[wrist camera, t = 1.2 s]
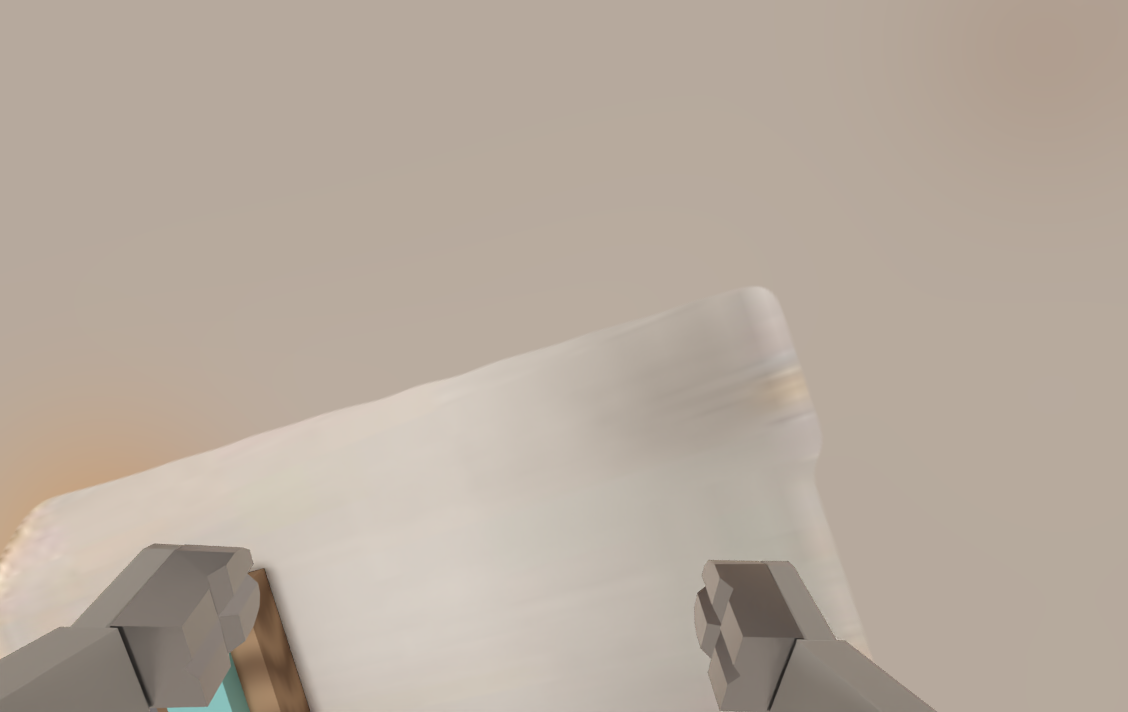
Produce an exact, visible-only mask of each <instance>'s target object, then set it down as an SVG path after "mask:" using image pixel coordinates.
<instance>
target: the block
mask: <svg viewBox="0 0 1128 712" xmlns="http://www.w3.org/2000/svg"><path fill="white" fill-rule="evenodd" d="M229 658H230V664H231V667H230V669H229V671H228V672H227V674H226V676H225V678H224V679H223V681H222V683H221V685H220V686H219V688H218V690H217V692H216V693H215V695H214V697H213V699H212V700H211V702H210V704H209V705H208V707H180V708H167V710H168V712H250V710H249V707H248V704H247V701H246V698H245V695H244V692H243V689H242V686H241V683H240V680H239V677H238V674H237V671H236V668H235V665H234V662H233V659H232V656H231V653H229Z"/></svg>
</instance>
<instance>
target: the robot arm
mask: <svg viewBox="0 0 1128 712" xmlns="http://www.w3.org/2000/svg"><path fill="white" fill-rule="evenodd" d="M253 564H254V563H253V560H252V556H251V553H250V550H249V549H246V548H240V547H221V546H203V545H173V544H152V545H150V546H148V547H146V548H144V549H143V550H142V551H141V552H140V553H139V554H138V555H137V556H136V557H135V558H134V559H133V560H132V561H131V562H130V564H129V565H128V566H127V567H126V568H125V569H124V570H123V571H122V572H121V573H120V574H119V575H118V576H117V577H116V579H115V580H114V581H113V582H112V583H111V584H110V585H109V586H108V587H107V588H106V589H105V590H104V591H103V592H102V593H101V595H100V596H99V597H98V598H97V599H96V600H95V601H94V602H93V603H92V604H91V605H90V606H89V607H88V608H87V609H86V611H85V612H84V613H83V614H82V615H81V616H80V617H79V618H78V619H77V620H76V621H75V622H74V623H73V624H72V625H71V627H59V628H57V629H55V630H53V631H51V632H50V633H48V634H46V635H44V636H42V637H40V638H39V639H37V640H35V641H33V642H31V643H29V644H28V645H26V646H24V647H22V648H20V649H19V650H17V651H15V652H13V653H11V654H9V655H8V656H6V657H4V658H2V659H0V712H150V708H180V707H208V705H209V704H210V702H211V700H212V699H213V697H214V695H215V693H216V692H217V690H218V688H219V686H220V685H221V683H222V681H223V679H224V678H225V676H226V674H227V672H228V671H229V669H230V667H231V664H230V658H229V653H230V652H231V651H232V650H234V649H235V648H237V647H238V646H239V645H241V644H242V643H243V642H245V641H246V639H247V637H248V635H249V633H250V632H251V630H252V628H253V626H254V624H255V620H256V617H257V614H258V610H259V607H260V590H259V586H258V582H256V581H255V580H254V579H253V578H252V577H251V576H250V575H248V572H249V570H250V569H251V567H252V566H253ZM702 578H703V581H704V583H705V587H704V588H703V589H702V590H700V591H699V592H698V593H697V597H696V602H695V606H694V617H695V628H696V634H697V638H698V641H699V645H700V648H701V649H702V650H703V651H704V652H705V653H706V654H707V655H708V656H709V657H710V658H711V663H710V666H709V670H708V675H709V678H710V681H711V684H712V688H713V691H714V694H715V697H716V700H717V704H718V707H719V710H720V711H738V712H936V711H935V710H934V709H933V708H931V707H930V706H929V705H928V704H926V703H925V702H924V701H922V700H921V699H920V698H919V697H917V696H916V695H915V694H913V693H912V692H911V691H910V690H908V689H907V688H906V687H904V686H903V685H902V684H900V683H899V682H898V681H897V680H895V679H894V678H893V677H891V676H890V675H889V674H888V673H886V672H885V671H884V670H882V669H881V668H880V667H879V666H877V665H876V664H875V663H873V662H872V661H871V660H869V659H868V658H867V657H866V656H864V655H863V654H862V653H860V652H859V651H858V650H857V649H855V648H854V647H853V646H851V645H850V644H849V643H848V642H846V641H843V640H836V638H835V636H834V635H833V633H832V631H831V630H830V628H829V626H828V624H827V623H826V621H825V619H824V617H823V616H822V614H821V612H820V611H819V609H818V607H817V605H816V604H815V602H814V600H813V598H812V597H811V595H810V593H809V592H808V590H807V588H806V586H805V585H804V583H803V581H802V579H801V578H800V576H799V574H798V572H797V571H796V569H795V567H794V566H793V565H792V564H791V563H790V562H788V561H761V562H760V561H733V560H708V561H707V563H706V564H705V565H704V569H703V573H702Z"/></svg>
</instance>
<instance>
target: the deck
mask: <svg viewBox="0 0 1128 712" xmlns="http://www.w3.org/2000/svg"><path fill="white" fill-rule="evenodd" d="M248 575H250V576H251V577H252V578H253V579H254V580H255V581H256V582H258V586H259V590H260V607H259V610H258V614H257V617H256V620H255V624H254V626H253V628H252V630H251V632H250V633H249V635H248V637H247V639H246V641H245V642H243V643H242V644H241V645H239V646H238V647H237V648H235V649H234V650H232V651H231V652H230V653H231V656H232V659H233V662H234V665H235V668H236V671H237V674H238V677H239V680H240V683H241V686H242V689H243V692H244V695H245V698H246V701H247V704H248V707H249V710H250V712H310V710H309V707H308V704H307V701H306V697H305V694H304V691H303V688H302V685H301V682H300V679H299V676H298V673H297V669H296V666H295V663H294V660H293V657H292V654H291V651H290V648H289V645H288V642H287V638H286V635H285V632H284V629H283V626H282V623H281V620H280V617H279V614H278V610H277V607H276V604H275V601H274V598H273V595H272V592H271V589H270V586H269V583H268V579H267V576H266V573H265V570H264V569H260V570H256V571H252V572H249V573H248ZM157 711H158V712H168V710H167V708H157Z"/></svg>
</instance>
